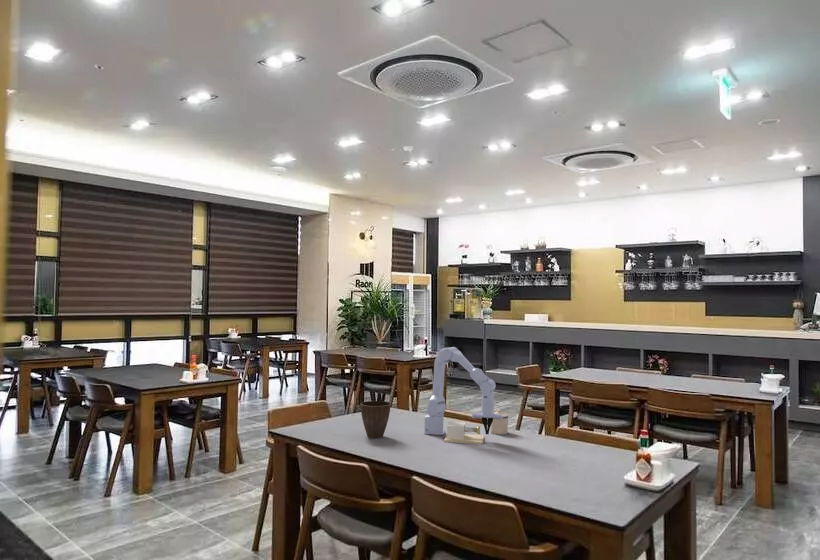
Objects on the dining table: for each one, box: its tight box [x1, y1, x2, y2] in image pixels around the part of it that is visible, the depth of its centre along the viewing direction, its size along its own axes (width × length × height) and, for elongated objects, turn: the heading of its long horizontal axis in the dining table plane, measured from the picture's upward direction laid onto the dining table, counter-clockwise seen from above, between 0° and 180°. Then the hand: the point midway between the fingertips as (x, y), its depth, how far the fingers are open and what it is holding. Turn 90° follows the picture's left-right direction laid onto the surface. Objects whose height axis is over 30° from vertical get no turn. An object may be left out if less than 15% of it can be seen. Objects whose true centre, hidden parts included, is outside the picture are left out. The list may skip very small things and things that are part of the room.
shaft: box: [464, 425, 481, 435], centre depth 274 cm, size 12×4×4 cm, turn 80°
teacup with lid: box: [489, 409, 509, 436], centre depth 292 cm, size 12×9×12 cm
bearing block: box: [443, 421, 485, 445], centre depth 274 cm, size 18×14×7 cm
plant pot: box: [359, 400, 392, 439], centre depth 277 cm, size 15×15×16 cm
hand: (487, 433), depth 273 cm, fingers closed
